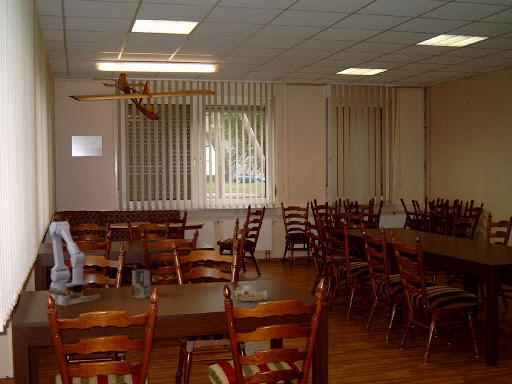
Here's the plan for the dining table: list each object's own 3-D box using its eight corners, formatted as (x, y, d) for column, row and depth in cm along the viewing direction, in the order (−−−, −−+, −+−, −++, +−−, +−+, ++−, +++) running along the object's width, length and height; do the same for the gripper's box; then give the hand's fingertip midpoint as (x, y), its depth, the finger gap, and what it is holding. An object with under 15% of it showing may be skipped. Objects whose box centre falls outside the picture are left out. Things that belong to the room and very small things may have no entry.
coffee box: (150, 297, 404) (151, 270, 404) (143, 298, 399) (143, 271, 398) (138, 295, 409) (139, 268, 408) (131, 297, 403) (131, 270, 403)
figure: (271, 300, 398) (272, 285, 397) (253, 305, 383) (254, 289, 383) (247, 297, 408) (247, 282, 407) (229, 301, 393) (229, 285, 393)
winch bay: (46, 303, 382) (46, 283, 382) (81, 296, 403) (81, 278, 402) (66, 306, 373) (66, 286, 373) (100, 299, 394) (100, 281, 393)
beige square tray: (57, 301, 384) (57, 293, 384) (70, 299, 391) (70, 291, 391) (68, 303, 379) (68, 295, 379) (80, 301, 386) (80, 293, 386)
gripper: (72, 276, 382) (72, 300, 382) (92, 273, 393) (92, 297, 394) (64, 275, 385) (63, 299, 386) (83, 272, 397) (83, 295, 398)
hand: (77, 298), depth 390 cm, fingers closed
